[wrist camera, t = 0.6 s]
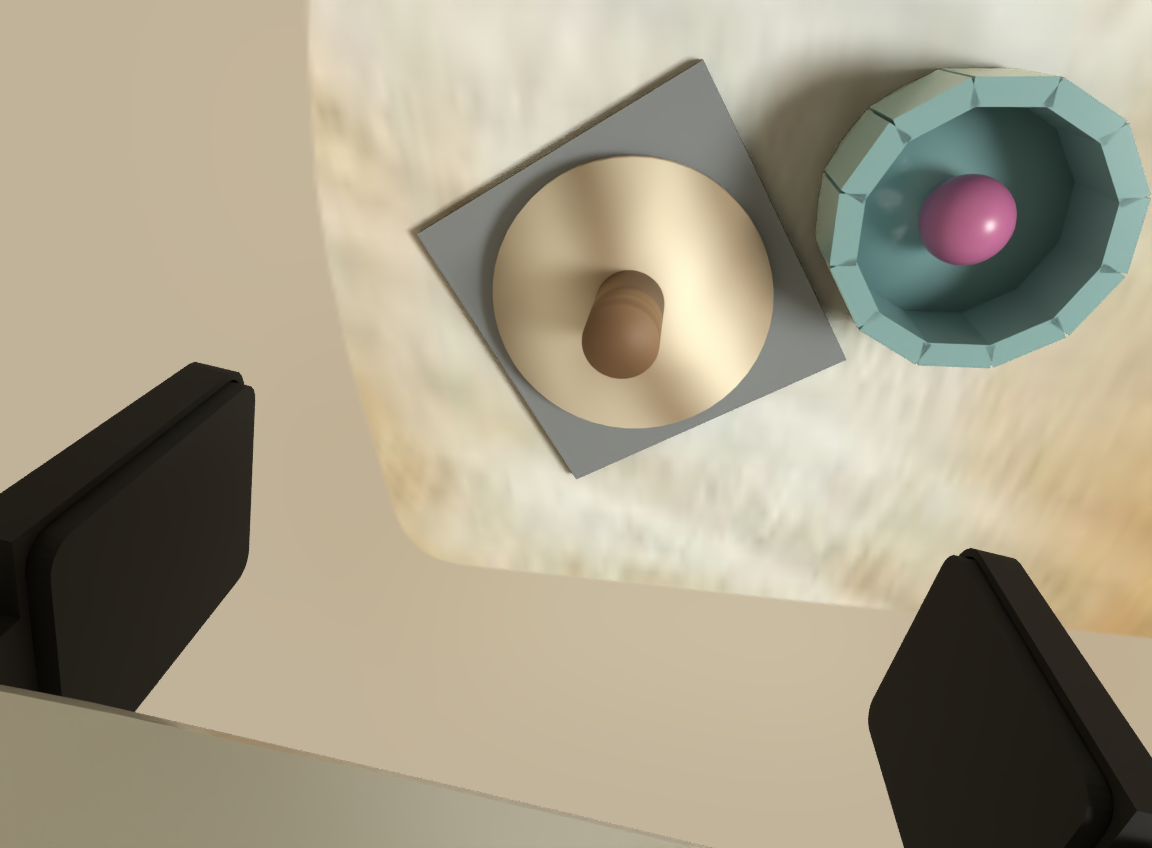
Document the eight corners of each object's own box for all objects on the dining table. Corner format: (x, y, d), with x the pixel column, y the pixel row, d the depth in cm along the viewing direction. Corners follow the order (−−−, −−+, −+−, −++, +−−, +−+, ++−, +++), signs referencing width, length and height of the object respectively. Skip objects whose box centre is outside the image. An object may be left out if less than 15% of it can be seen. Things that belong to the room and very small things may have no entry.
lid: (692, 96, 34) (690, 111, 29) (817, 351, 38) (836, 406, 33) (445, 242, 38) (404, 280, 33) (583, 457, 43) (566, 520, 37)
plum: (982, 150, 33) (1013, 164, 30) (1011, 227, 34) (1043, 249, 31) (896, 193, 34) (916, 212, 31) (926, 266, 35) (949, 291, 32)
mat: (702, 59, 34) (703, 60, 33) (844, 355, 39) (846, 359, 38) (420, 231, 39) (416, 234, 38) (577, 473, 44) (576, 479, 43)
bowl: (1039, 10, 31) (1095, 11, 27) (1118, 255, 35) (1179, 290, 31) (775, 155, 35) (786, 176, 31) (872, 363, 39) (894, 408, 34)
